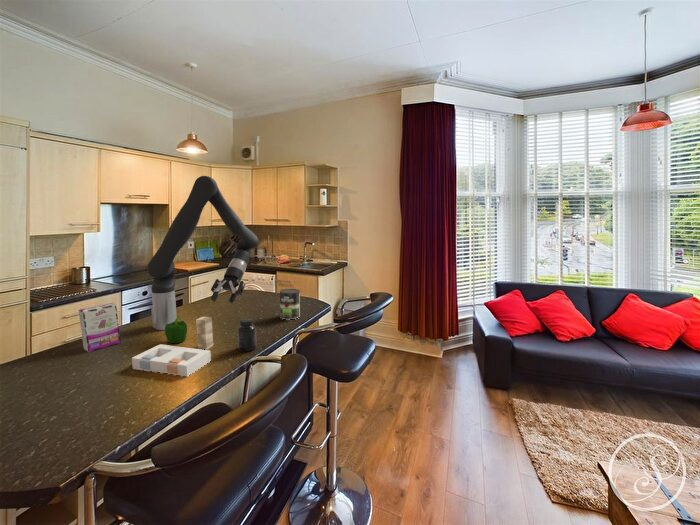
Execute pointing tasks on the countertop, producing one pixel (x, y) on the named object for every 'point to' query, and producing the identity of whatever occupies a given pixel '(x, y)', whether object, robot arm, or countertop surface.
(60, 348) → the countertop surface
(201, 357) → the socket hub
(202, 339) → the beech plug
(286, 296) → the coffee can
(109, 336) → the candy bar box
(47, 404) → the countertop surface
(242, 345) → the supplement bottle
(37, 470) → the countertop surface
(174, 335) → the bell pepper
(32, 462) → the countertop surface
